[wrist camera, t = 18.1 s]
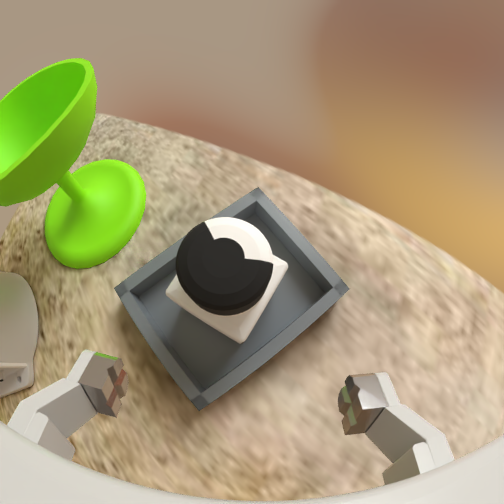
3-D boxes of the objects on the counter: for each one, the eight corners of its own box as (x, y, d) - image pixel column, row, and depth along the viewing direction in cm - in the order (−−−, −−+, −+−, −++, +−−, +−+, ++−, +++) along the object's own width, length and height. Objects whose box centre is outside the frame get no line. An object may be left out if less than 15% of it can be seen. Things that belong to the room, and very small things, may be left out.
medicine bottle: (242, 345, 26) (244, 342, 15) (181, 307, 27) (141, 276, 16) (278, 284, 28) (304, 238, 17) (218, 250, 29) (207, 186, 18)
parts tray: (203, 403, 24) (198, 411, 21) (127, 295, 28) (114, 288, 24) (337, 296, 29) (349, 288, 25) (256, 203, 32) (258, 187, 29)
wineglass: (113, 286, 28) (4, 213, 11) (29, 248, 29) (-56, 183, 12) (166, 170, 33) (129, 51, 16) (80, 154, 34) (29, 68, 17)
